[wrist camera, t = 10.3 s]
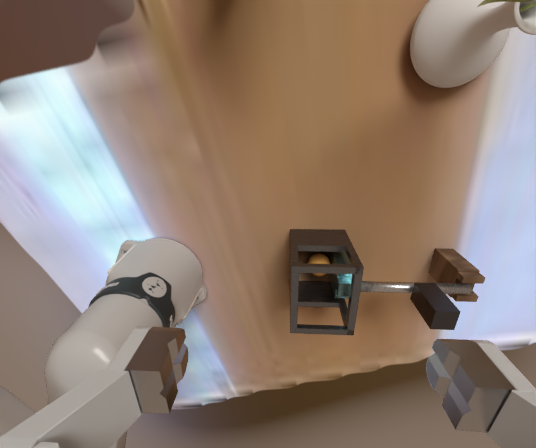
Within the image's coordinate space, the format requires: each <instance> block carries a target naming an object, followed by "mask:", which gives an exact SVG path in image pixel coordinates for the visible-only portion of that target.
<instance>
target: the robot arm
mask: <svg viewBox="0 0 536 448" xmlns="http://www.w3.org/2000/svg"><path fill="white" fill-rule="evenodd" d="M126 251H127V252H126ZM108 274H109V275H108V277H107V281H106V286H105V287H103V288H102V289H101V290H100V291H99V292H98V293H97V294H96V296H95V297H94V298H93V299H92V301H91V302H90V304H89V307H88V308H87V309H86V310H85V311H84V312H83V313H82V314H81V316H79V317H78V318H77V319H76V320H75V321H74V322H73V323H72V324H71V325H70V326H69V328H67V329H66V330H65V331H64V332H63V334H61V335H60V336H59V337H58V338H57V339H56V341H55V342H54V344H53V345H52V347H51V349H50V351H49V353H48V356H47V359H46V362H45V368H44V369H45V370H44V374H45V381H46V387H47V393H48V404H47V406H46V407H44V408H43V409H41V410H40V411H38V412H37V413H36V412H35V411H33V410H32V409H31V408H30V407H28V406H27V405H26V404H25V403H24V402H22V401H21V400H20V399H19V398H17V397H16V396H15V395H14V394H12V393H11V392H10V391H9V390H7V389H6V388H4V387H2V386H0V448H125V443H126V434H127V429H128V428H129V427H130V426H131V425H132V424H133V423H134V422H135V421H136V420H137V419H138V418H139V417H140V416H141V413H166V414H168V413H170V411H171V408H172V406H173V403H174V400H175V398H176V395H177V392H178V390H177V383H178V382H179V381H180V380H181V379H182V378H183V376H184V374H185V371H186V367H187V362H188V348H187V346H186V345H185V344H184V343H183V342H184V340H185V337H186V336H185V331H184V329H181V328H175V326H176V324H178V325H179V324H180V323H181V322H182V320H183V319H185V318H186V316H187V315H188V313H189V311H190V309H191V308H193V307H194V306H195V305H197V304H198V303H200V302H201V301H203V300H204V299H205V298H206V296H207V290H206V288H205V286H204V284H203V274H202V268H201V265H200V263H199V261H198V259H197V258H196V256H195V255H194V254H193V253H192V252H191V251H190V250H189V249H188V248H187V247H185V246H184V245H182V244H180V243H178V242H176V241H173V240H170V239H165V238H153V239H148V240H145V241H133V240H127V241H125V242H124V243H123V244H122V245H121V248H120V251H119V254H118V257H117V260H116V263H115V264H114V265H113V266H112V267H111V268H110V269H109V271H108ZM432 349H433V350H434V352H435V353H434V354H433V355H432V356H430V357H429V358H428V361H427V365H426V369H427V376H428V379H429V382H430V384H431V386H432V388H433V390H434V391H435V392H436V393H438V394H439V395H440V396H441V397H442V398H443V403H442V406H443V408H444V410H445V412H446V413H447V415H448V417H449V419H450V420H451V422H452V424H453V426H454V428H455V430H461V431H473V432H485V433H488V434H487V435H488V436H489V437H490V438H491V439H492V440H493V441H494V442H496V443H497V444H498V445H499V446H500V447H501V448H536V389H535V388H534V387H533V386H532V385H531V383H529V381H528V380H527V379H526V378H525V377H524V376H523V375H522V374H521V373H520V372H519V370H518V369H517V368H516V367H515V366H514V365H513V364H512V363H511V362H510V361H509V360H508V358H507V357H506V356H505V355H504V354H503V353H502V352H501V351H500V350H499V349H498V348H497V347H496V345H495V344H493V343H492V342H490V341H483V340H455V339H437V340H436V341H435V342H434V344H433V346H432Z"/></svg>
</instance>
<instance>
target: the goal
mask: <svg viewBox="0 0 536 448" xmlns="http://www.w3.org/2000/svg"><path fill="white" fill-rule="evenodd" d="M298 251H328V252H346V254H347V256H348V258H349V261H350V263H351V264H306V263H299V259H298ZM363 269H364V268H363V266H362V263H361V261H360V259H359V257H358V255H357V253H356V251H355V249H354V247H353V245H352V243H351V241H350V239H349V237H348V235H347V233H346V231H345V230H314V229H290V281H289V289H290V333H304V334H333V335H354V328H355V322H356V315H357V308H358V302H359V295H360V288H361V282H362V275H363ZM299 273H333V274H352V280H351V288H350V295H349V303H348V309H347V305H346V302H345V299H344V298H335V296H334V293H333V289H332V285H331V282H324V281H299ZM298 306H304V307H339V308H340V312H341V316H342V319H343V323H344V326H332V325H302V324H297V316H298Z"/></svg>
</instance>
